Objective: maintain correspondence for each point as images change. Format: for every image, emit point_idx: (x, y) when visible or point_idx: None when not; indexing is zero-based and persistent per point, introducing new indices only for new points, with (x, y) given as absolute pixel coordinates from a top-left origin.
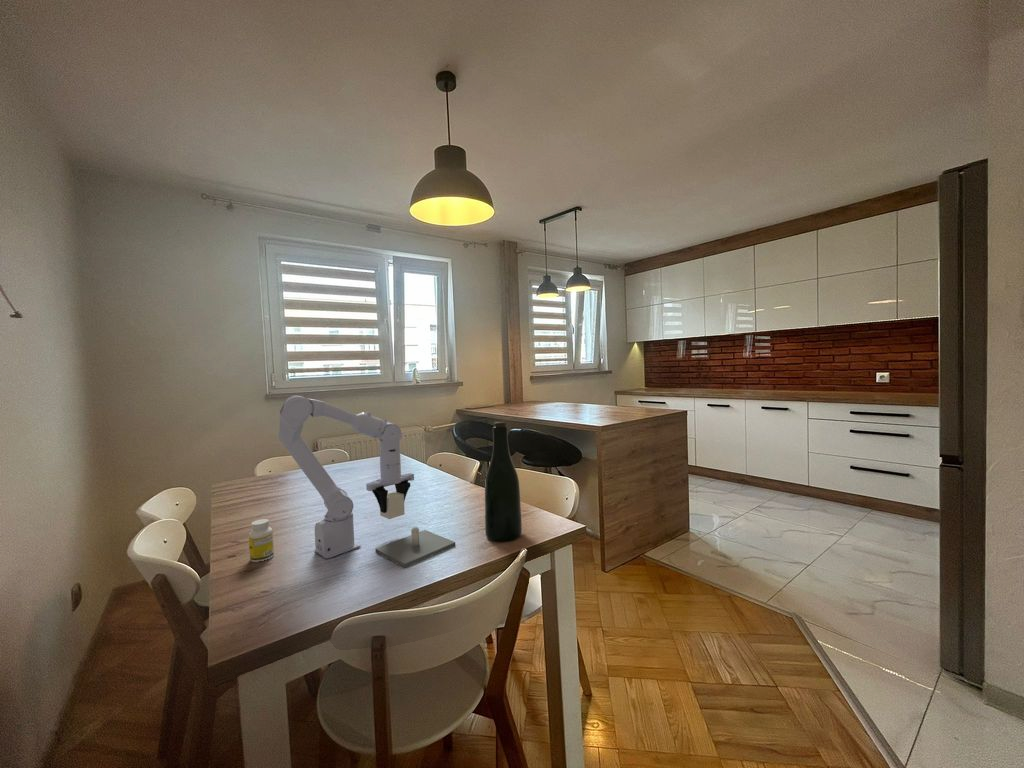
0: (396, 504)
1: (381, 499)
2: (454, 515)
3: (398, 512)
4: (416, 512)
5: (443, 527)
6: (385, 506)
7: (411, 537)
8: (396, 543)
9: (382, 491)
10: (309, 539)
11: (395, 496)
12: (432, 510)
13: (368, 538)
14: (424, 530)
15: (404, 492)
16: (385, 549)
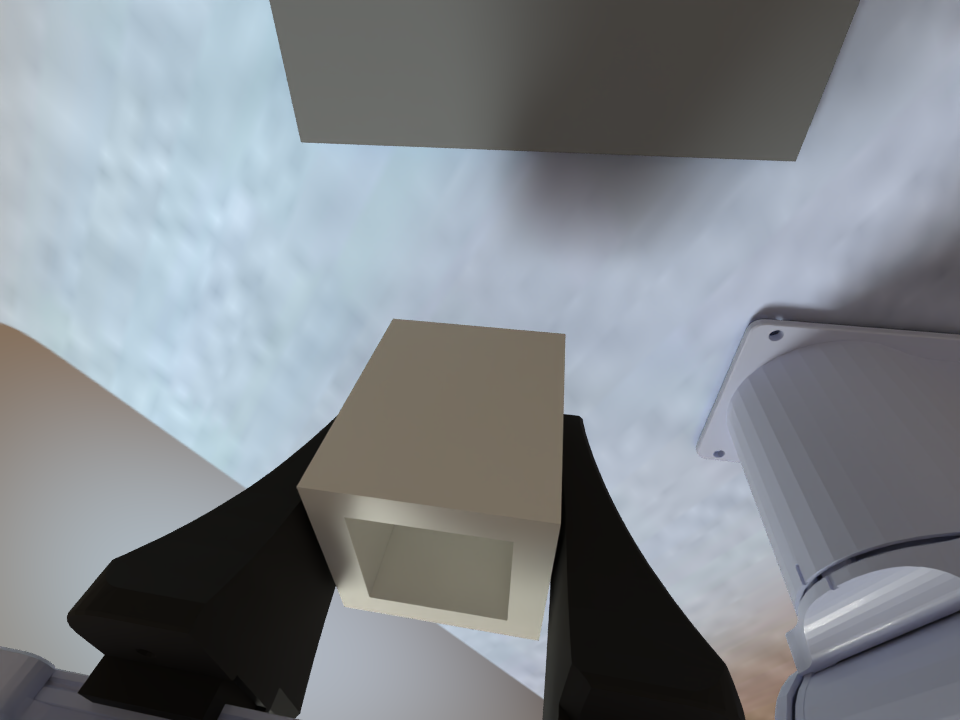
0: (453, 413)
1: (640, 564)
2: (35, 233)
3: (451, 347)
4: (244, 437)
5: (152, 107)
6: (577, 460)
7: (463, 93)
8: (628, 88)
9: (706, 711)
10: (766, 566)
11: (437, 507)
12: (157, 396)
13: (618, 382)
14: (310, 133)
15: (268, 512)
16: (787, 47)
